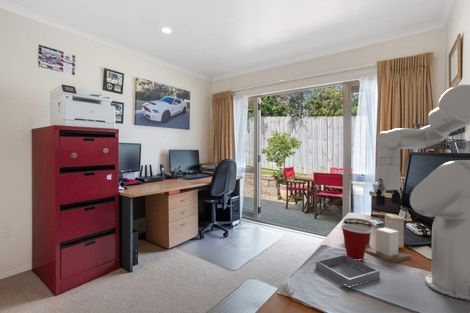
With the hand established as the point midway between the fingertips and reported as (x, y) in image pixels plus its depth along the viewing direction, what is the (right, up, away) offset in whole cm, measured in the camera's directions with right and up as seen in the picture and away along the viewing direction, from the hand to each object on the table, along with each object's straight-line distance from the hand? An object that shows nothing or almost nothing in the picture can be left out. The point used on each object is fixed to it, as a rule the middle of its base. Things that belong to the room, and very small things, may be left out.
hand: (388, 204), depth 97 cm
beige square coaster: (0, -20, +1) cm, 20 cm away
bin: (-24, -20, -15) cm, 35 cm away
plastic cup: (-14, -21, -2) cm, 25 cm away
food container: (-4, -21, +16) cm, 27 cm away
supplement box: (+10, -21, +12) cm, 26 cm away
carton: (0, -19, +1) cm, 19 cm away
